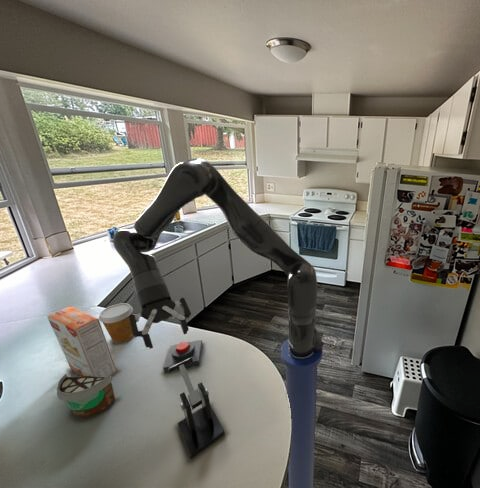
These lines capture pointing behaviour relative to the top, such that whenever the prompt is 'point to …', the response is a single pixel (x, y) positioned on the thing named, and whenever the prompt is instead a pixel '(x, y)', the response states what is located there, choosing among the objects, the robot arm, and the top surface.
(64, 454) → the top surface
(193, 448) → the bracket
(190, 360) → the lever
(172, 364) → the button box
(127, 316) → the orange tub white lid
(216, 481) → the top surface
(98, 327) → the cracker box
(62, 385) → the food container
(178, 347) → the button
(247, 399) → the top surface
